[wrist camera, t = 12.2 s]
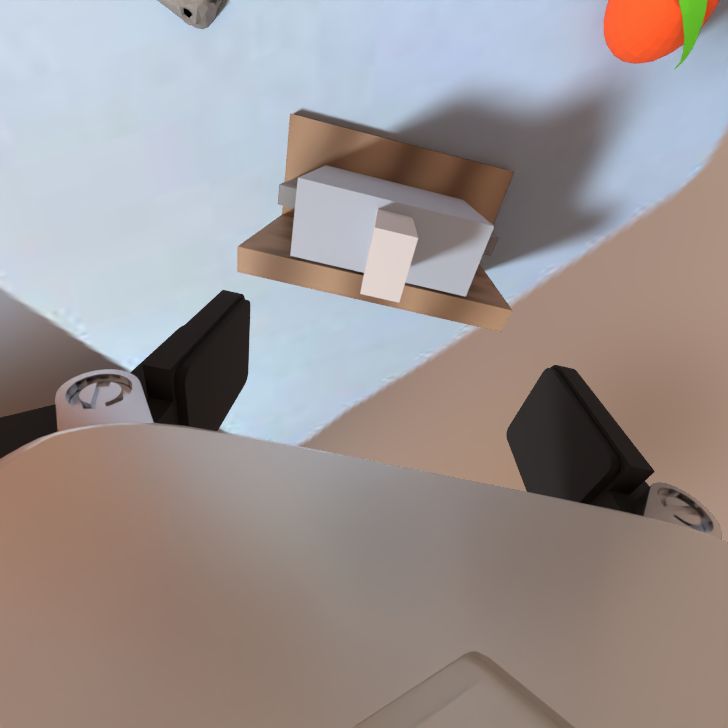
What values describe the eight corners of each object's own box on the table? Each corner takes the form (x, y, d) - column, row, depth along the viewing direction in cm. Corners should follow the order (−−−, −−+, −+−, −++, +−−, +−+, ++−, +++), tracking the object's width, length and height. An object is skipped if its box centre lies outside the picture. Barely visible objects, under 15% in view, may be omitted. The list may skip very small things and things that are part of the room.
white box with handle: (462, 199, 35) (521, 249, 19) (444, 252, 38) (482, 332, 22) (326, 165, 34) (272, 188, 18) (318, 222, 37) (266, 283, 21)
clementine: (686, 51, 29) (762, 28, 23) (597, 102, 31) (645, 93, 25) (679, -76, 25) (767, -140, 19) (578, -8, 28) (630, -48, 22)
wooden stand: (511, 170, 34) (573, 188, 23) (469, 275, 40) (501, 332, 29) (292, 114, 33) (239, 101, 21) (283, 231, 39) (237, 271, 27)
